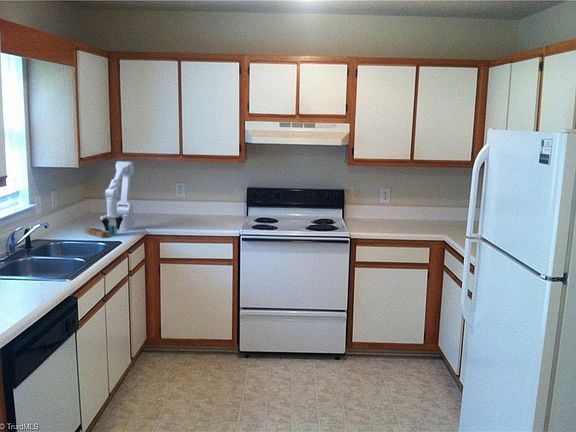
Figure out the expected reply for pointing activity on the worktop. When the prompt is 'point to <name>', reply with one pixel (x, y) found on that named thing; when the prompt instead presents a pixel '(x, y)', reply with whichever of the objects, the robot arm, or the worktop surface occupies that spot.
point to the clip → (112, 229)
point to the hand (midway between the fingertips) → (112, 230)
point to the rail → (97, 232)
